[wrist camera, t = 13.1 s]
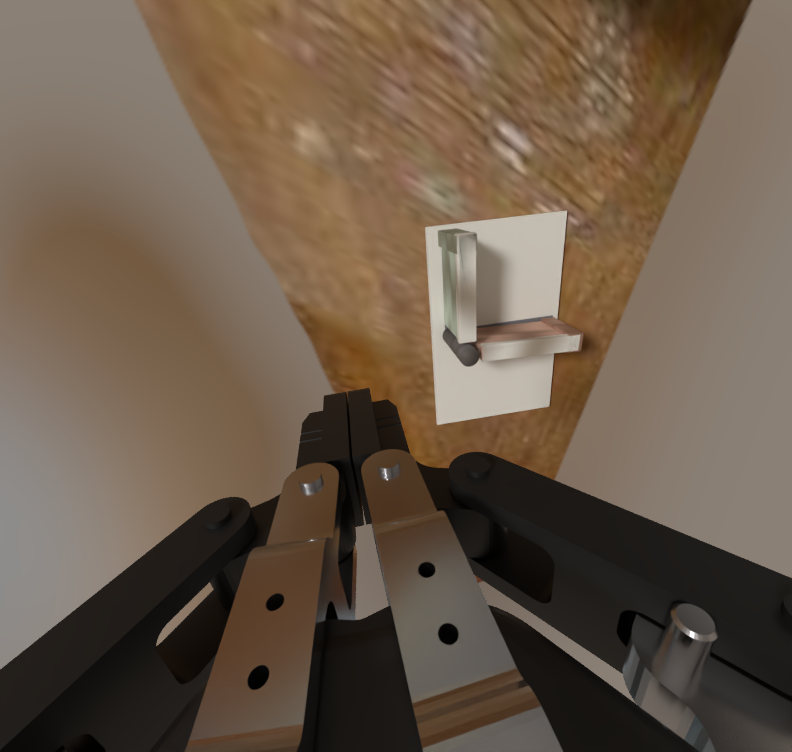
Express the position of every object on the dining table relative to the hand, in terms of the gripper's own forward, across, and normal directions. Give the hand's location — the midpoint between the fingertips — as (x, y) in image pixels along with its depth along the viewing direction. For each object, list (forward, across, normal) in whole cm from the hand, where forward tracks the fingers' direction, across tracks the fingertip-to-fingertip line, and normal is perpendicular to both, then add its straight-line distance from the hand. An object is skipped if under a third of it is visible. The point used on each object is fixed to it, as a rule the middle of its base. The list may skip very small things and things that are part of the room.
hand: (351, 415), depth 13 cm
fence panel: (+26, -17, +8) cm, 32 cm away
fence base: (+26, -10, +3) cm, 29 cm away
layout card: (+27, -15, +8) cm, 32 cm away
